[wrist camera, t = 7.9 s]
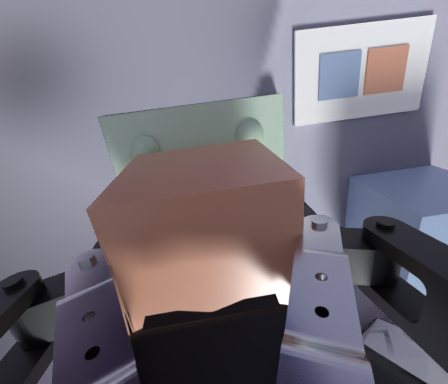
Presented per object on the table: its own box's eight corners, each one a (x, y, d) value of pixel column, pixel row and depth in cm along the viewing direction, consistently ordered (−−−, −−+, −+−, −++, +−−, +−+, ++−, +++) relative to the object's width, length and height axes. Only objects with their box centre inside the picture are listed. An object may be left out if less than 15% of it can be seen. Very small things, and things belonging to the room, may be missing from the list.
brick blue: (429, 164, 17) (539, 199, 12) (413, 235, 20) (498, 291, 14) (348, 176, 17) (422, 217, 11) (341, 246, 19) (400, 309, 14)
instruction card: (433, 15, 13) (438, 14, 13) (415, 109, 15) (419, 109, 15) (293, 31, 13) (295, 30, 13) (293, 125, 15) (295, 126, 15)
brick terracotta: (255, 138, 12) (304, 177, 7) (261, 237, 15) (301, 326, 9) (136, 154, 12) (86, 209, 6) (162, 253, 14) (141, 354, 9)
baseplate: (277, 93, 14) (284, 93, 13) (280, 236, 18) (286, 245, 17) (104, 115, 14) (96, 117, 13) (146, 257, 18) (143, 268, 16)
